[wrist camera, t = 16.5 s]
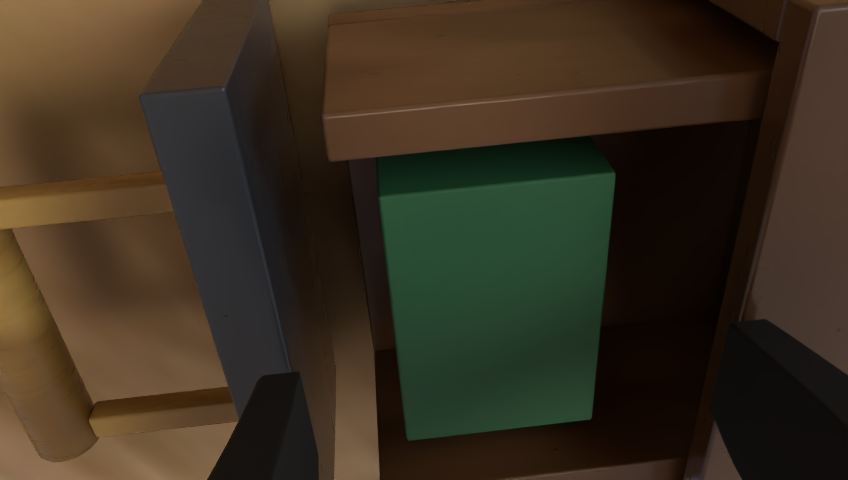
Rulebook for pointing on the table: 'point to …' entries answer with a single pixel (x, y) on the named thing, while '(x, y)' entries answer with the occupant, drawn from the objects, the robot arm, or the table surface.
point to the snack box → (496, 282)
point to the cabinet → (789, 204)
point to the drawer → (359, 144)
